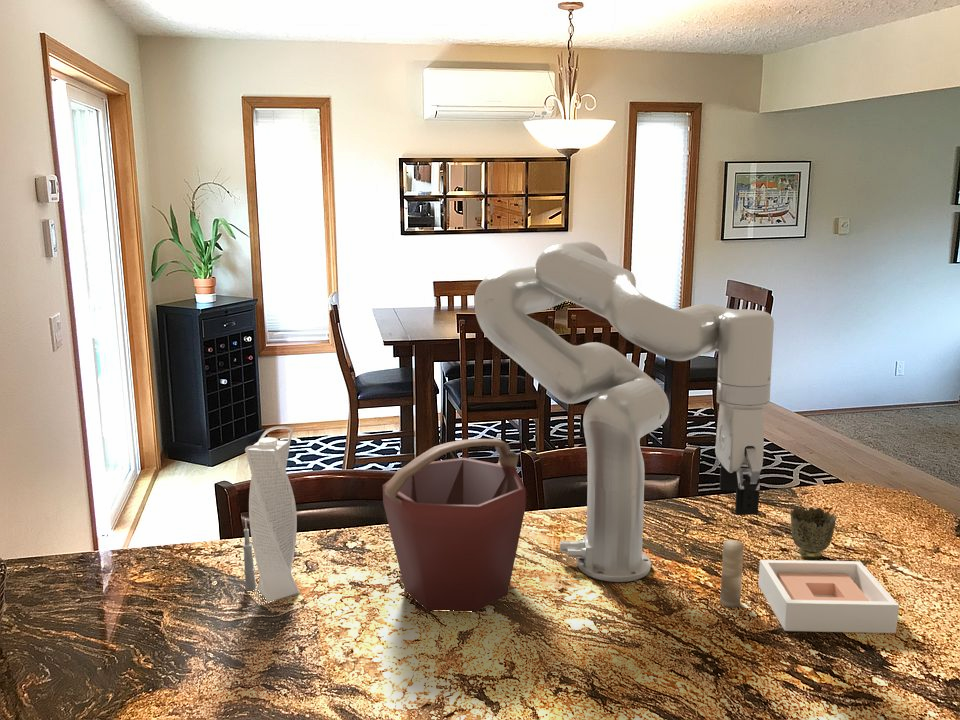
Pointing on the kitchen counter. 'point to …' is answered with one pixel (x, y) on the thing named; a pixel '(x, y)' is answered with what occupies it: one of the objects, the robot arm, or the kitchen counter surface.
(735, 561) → the birch peg
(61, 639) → the kitchen counter surface
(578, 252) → the robot arm
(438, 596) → the bucket
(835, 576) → the bored plate
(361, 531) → the kitchen counter surface
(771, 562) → the open-top box
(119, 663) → the kitchen counter surface
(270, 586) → the skyscraper
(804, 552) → the cup
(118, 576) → the kitchen counter surface
